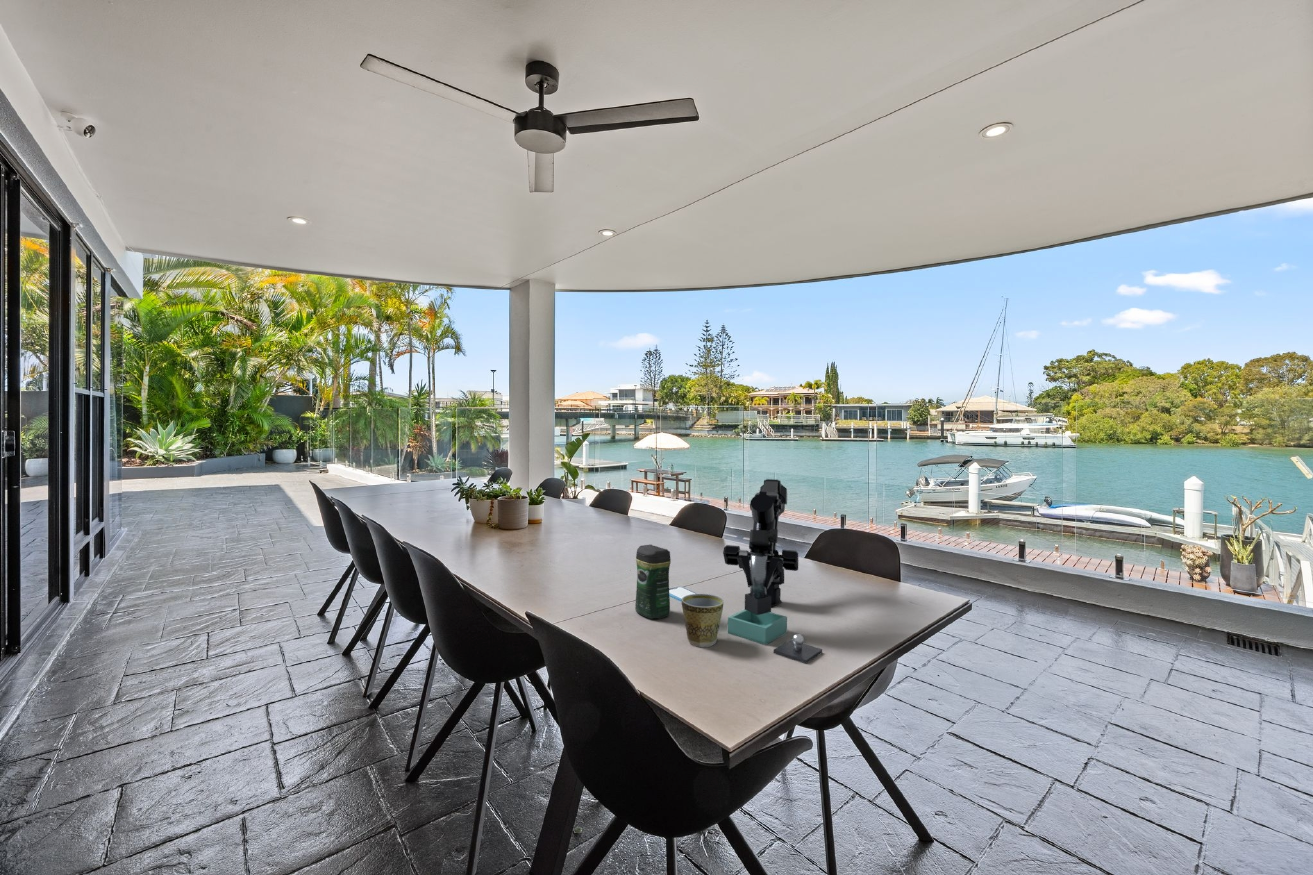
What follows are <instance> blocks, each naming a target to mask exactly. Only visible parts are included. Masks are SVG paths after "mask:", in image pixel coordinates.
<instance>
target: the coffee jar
mask: <svg viewBox="0 0 1313 875" xmlns="http://www.w3.org/2000/svg"><path fill="white" fill-rule="evenodd" d="M635 554H636V555H635V562H636V573H637V574H636V590H635V607H634V608H635V612H636V613H637V614H639V615H641V616H642V617H645V618H647V619H662V618H663V619H664V618H665V617H667V616H669V615H670V613H671V602H670V601H671V600H670V599H671V597H670V596H669V589H670V566H671V560H672V559H671V552H670V550H668V549H667V548H663V547H659V546H657V545H653V544H644V545H640V546H638V548H637V549H636V553H635Z"/></svg>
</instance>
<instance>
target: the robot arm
mask: <svg viewBox="0 0 1313 875" xmlns="http://www.w3.org/2000/svg"><path fill="white" fill-rule="evenodd" d="M759 488H760V490H759V492H756V493H755V495H754V496H753V497H752V498H751V500H750V503H749V508H750V509H749V510H750V511H751V517H752V520H753V523H752V524H753V525H752V529H749V530H750V531H749V543H748V548H749V550H745V549H741V548H740V545H732V544H726V545H725V546H724V547H723V550H722V555H723V559H724V564H726V565H727V566H738V568H739V569H742V570H743V573H744V575H745V578H746V584H747V588H749V589H750V569H751V554H755V553H759V554H765V555H767V580H766V594H767V595H769V596H771V608H773V607H775V606H777V605H778V604H779V605H780V604H781V603H783V602H782V600H781V595H782V594H781V592H782V589H781V588H780V586H782V585H783V584H785V571H794V572H795V571H796V572H797V571H799V561H800V560H799V552H798V551H797V550H793V549H783V548H782V550H781V554H779V550H778V549H777V544H778V541H779V529H778V528H779V518H780V516H781V515H782V514H784V512H785V509H786V508H785V507H786V505H788V489H787V487H785V486H784V485H783V484H782V483H781V480H780V479H778V478H777V479H776V478H775V479H774V478H773V479H772V478H771V479H770V478H767V479H764V480H763V484H762V485H761V486H760V487H759Z"/></svg>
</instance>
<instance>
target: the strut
mask: <svg viewBox="0 0 1313 875" xmlns="http://www.w3.org/2000/svg"><path fill="white" fill-rule="evenodd" d="M766 580H767V555H765V554H759V553H755V554H751V560H750V588H749V593H744V610H747V611H749V612H751V613H754V614H756V615H760V614H764V613H769V612H772V607H771V596H769V595H767V594H766Z"/></svg>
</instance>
